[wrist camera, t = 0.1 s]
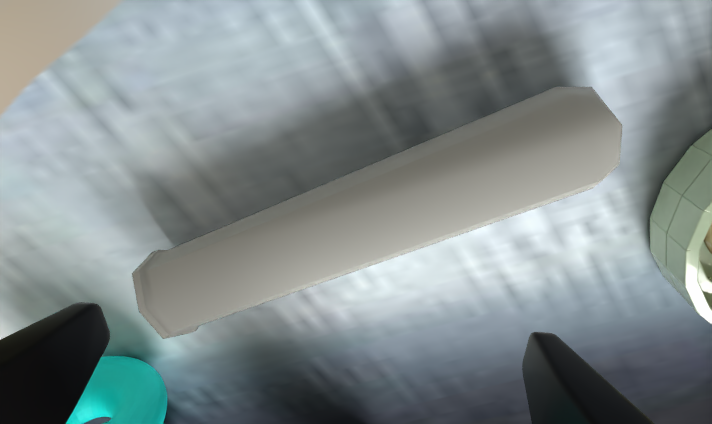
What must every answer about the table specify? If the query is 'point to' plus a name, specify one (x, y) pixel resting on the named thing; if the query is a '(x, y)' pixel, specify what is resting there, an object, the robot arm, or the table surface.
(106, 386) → the pair of teal discs
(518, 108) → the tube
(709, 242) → the hand bell
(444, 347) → the table surface
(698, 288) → the bowl
